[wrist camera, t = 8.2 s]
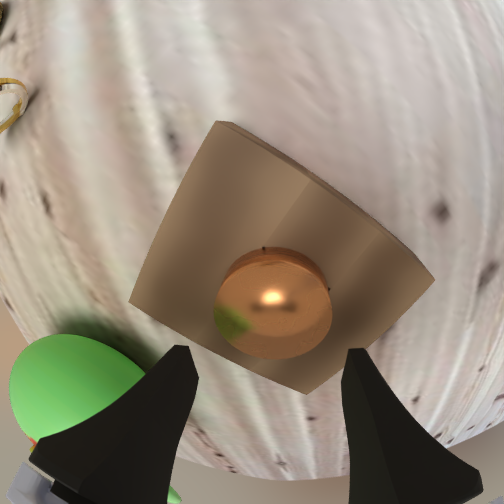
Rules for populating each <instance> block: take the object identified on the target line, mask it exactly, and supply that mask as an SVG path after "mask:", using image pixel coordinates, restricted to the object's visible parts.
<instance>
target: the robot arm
mask: <svg viewBox="0 0 504 504" xmlns="http://www.w3.org/2000/svg"><path fill="white" fill-rule="evenodd" d="M198 380H199V376H198V373H197V371H196V368H195V365H194V361H193V358H192V355H191V352H190V349H189V346H183V345H174V346H173V347H172V348H171V349H170V350H169V351H168V352H167V353H166V354H165V355H164V356H163V357H162V358H161V359H160V360H159V361H158V362H157V363H156V364H155V365H154V366H153V367H152V368H151V369H150V370H149V371H148V372H147V373H146V374H145V375H144V376H143V377H142V378H141V379H140V380H139V381H138V382H137V383H136V384H135V385H133V386H132V387H131V388H130V389H129V390H128V391H127V392H125V393H124V394H123V395H122V396H121V397H119V398H118V399H117V400H116V401H114V402H113V403H111V404H110V405H109V406H107V407H106V408H104V409H103V410H101V411H100V412H98V413H96V414H95V415H93V416H91V417H90V418H88V419H86V420H84V421H83V422H81V423H79V424H77V425H75V426H72V427H70V428H68V429H66V430H63V431H61V432H58V433H55V434H52V435H49V436H46V437H42V438H40V439H39V441H38V443H37V444H36V446H35V448H34V450H33V451H32V453H31V455H30V457H29V461H30V462H31V463H33V464H34V465H35V466H37V467H38V468H39V469H41V470H42V471H44V472H45V473H46V474H48V475H49V476H51V477H53V478H54V479H55V481H54V483H53V482H52V481H50V480H49V479H47V478H45V477H44V476H42V475H41V474H40V473H38V472H37V471H36V470H34V469H33V468H31V467H30V466H29V465H27V464H26V463H25V462H22V464H21V466H20V468H19V470H18V472H17V473H16V475H15V477H14V479H13V481H12V483H11V485H10V487H9V489H8V492H7V494H6V497H7V499H9V500H10V501H11V502H12V503H13V504H167V500H168V493H169V486H170V480H171V474H172V469H173V464H174V460H175V455H176V451H177V447H178V444H179V441H180V438H181V435H182V432H183V430H184V427H185V424H186V421H187V419H188V416H189V413H190V410H191V408H192V405H193V402H194V399H195V395H196V390H197V385H198ZM341 391H342V406H343V412H344V418H345V425H346V431H347V438H348V445H349V454H350V490H349V492H350V493H349V504H463V503H465V502H467V501H469V500H470V499H472V498H474V497H476V496H478V495H479V494H481V493H482V492H483V485H482V479H481V476H480V473H479V471H478V470H477V469H475V468H474V467H472V466H470V465H468V464H467V463H465V462H464V461H462V460H461V459H459V458H458V457H457V456H455V455H454V454H452V453H451V452H450V451H448V450H447V449H446V448H445V447H444V446H442V445H441V444H440V443H439V442H438V441H437V440H435V439H434V438H433V437H432V436H431V435H430V434H429V433H428V432H427V431H426V430H425V429H424V428H423V427H422V426H421V425H420V424H419V423H418V422H417V421H416V420H415V419H414V418H413V416H412V415H411V414H410V413H409V412H408V411H407V409H406V408H405V407H404V406H403V404H402V403H401V402H400V401H399V399H398V398H397V397H396V395H395V394H394V393H393V391H392V390H391V388H390V387H389V385H388V384H387V383H386V381H385V380H384V378H383V377H382V375H381V374H380V372H379V371H378V369H377V367H376V366H375V364H374V363H373V361H372V359H371V358H370V356H369V354H368V353H367V351H366V349H365V348H351V349H348V353H347V358H346V362H345V367H344V371H343V375H342V379H341ZM487 504H504V501H503V496H500V497H498V498H496V499H494V500H493V501H491V502H489V503H487Z"/></svg>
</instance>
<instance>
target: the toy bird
mask: <svg viewBox="0 0 504 504" xmlns="http://www.w3.org/2000/svg"><path fill="white" fill-rule="evenodd" d="M144 375H145V372H144V371H143V370H142V369H141V368H139V367H138V366H137V365H136V364H135V363H134V362H132V361H131V360H130V359H129V358H127V357H126V356H124V355H123V354H121V353H120V352H118V351H116V350H115V349H113V348H111V347H109V346H107V345H105V344H103V343H101V342H98V341H96V340H93V339H90V338H87V337H83V336H79V335H72V334H56V335H50V336H47V337H44V338H41V339H39V340H37V341H35V342H33V343H32V344H30V345H29V346H28V347H27V348H25V349H24V351H23V352H22V353H21V354H20V355H19V356H18V358H17V360H16V361H15V363H14V365H13V368H12V371H11V375H10V381H9V396H10V402H11V406H12V410H13V413H14V415H15V417H16V419H17V422H18V423H19V425H20V427H21V429H22V430H23V432H24V433H25V434H26V435H27V436H28V438H29V439H30V441H31V442H32V443H33V444H34V445H33V446H32V447H31V448H30V452H31V453H32V451H33V450H34V448H35V446H36V444H37V443H38V441H39V439H40V438H42V437H46V436H49V435H52V434H55V433H58V432H61V431H63V430H66V429H68V428H70V427H72V426H75V425H77V424H79V423H81V422H83V421H84V420H86V419H88V418H90V417H91V416H93V415H95V414H96V413H98V412H100V411H101V410H103V409H104V408H106V407H107V406H109V405H110V404H111V403H113V402H114V401H116V400H117V399H118V398H119V397H121V396H122V395H123V394H124V393H125V392H127V391H128V390H129V389H130V388H131V387H132V386H133V385H135V384H136V383H137V382H138V381H139V380H140V379H141V378H142V377H143V376H144ZM181 501H182V500H181V497H180V496H179V495H178V493H177V492H176V491H175V490H174V489H173V488H172V487H171V486H169V493H168V500H167V502H170V503H175V504H178V503H180V502H181Z"/></svg>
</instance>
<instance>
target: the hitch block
mask: <svg viewBox="0 0 504 504" xmlns="http://www.w3.org/2000/svg"><path fill="white" fill-rule="evenodd" d="M263 246H264V247H282V248H288V249H292V250H295V251H297V252H300V253H302V254H304V255H306V256H307V257H308V258H310V259H311V260H312V261H313V262H315V263H316V264H317V266H318V267H319V268H320V269H321V271H322V273H323V274H324V276H325V279H326V282H327V286H328V291H329V296H330V301H331V306H332V322H331V326H330V329H329V331H328V333H327V334H326V336H325V337H324V339H323V340H322V341H321V342H320V343H319V344H318V345H317V346H316V347H314V348H313V349H311V350H310V351H308V352H306V353H304V354H302V355H299V356H296V357H292V358H287V359H278V360H275V359H263V358H258V357H254V356H251V355H248V354H246V353H244V352H242V351H240V350H238V349H236V348H235V347H234V346H232V345H231V344H230V343H229V342H227V340H226V339H225V338H224V337H223V336H222V335H221V333H220V332H219V330H218V328H217V326H216V323H215V320H214V311H213V309H214V302H215V299H216V296H217V294H218V291H219V289H220V287H221V284H222V282H223V279H224V277H225V275H226V273H227V271H228V269H229V268H230V266H231V265H232V264H233V263H234V262H235V261H236V260H237V259H238V258H240V257H241V256H243V255H244V254H246V253H248V252H250V251H253V250H256V249H260V248H262V247H263ZM434 281H435V279H434V277H433V276H432V275H431V274H430V272H429V271H428V270H427V269H426V267H425V266H424V265H423V264H422V262H421V261H420V260H419V259H418V258H417V256H416V255H415V254H414V253H413V252H412V251H411V250H410V249H409V248H408V247H406V246H405V245H404V244H403V243H402V242H401V241H400V240H398V239H397V238H396V237H395V236H394V235H393V234H391V233H390V232H389V231H388V230H387V229H385V228H384V227H383V226H382V225H381V224H379V223H378V222H377V221H376V220H375V219H373V218H372V217H371V216H370V215H368V214H367V213H366V212H365V211H363V210H362V209H361V208H359V207H358V206H357V205H356V204H354V203H353V202H352V201H350V200H349V199H348V198H346V197H345V196H344V195H342V194H341V193H340V192H338V191H337V190H336V189H334V188H333V187H332V186H330V185H329V184H327V183H326V182H325V181H323V180H322V179H320V178H319V177H318V176H316V175H315V174H313V173H312V172H310V171H309V170H307V169H306V168H304V167H303V166H302V165H300V164H299V163H297V162H296V161H294V160H293V159H291V158H290V157H288V156H286V155H285V154H283V153H282V152H280V151H279V150H277V149H276V148H274V147H272V146H271V145H269V144H268V143H266V142H264V141H263V140H261V139H259V138H258V137H256V136H254V135H253V134H251V133H249V132H248V131H246V130H244V129H243V128H241V127H239V126H237V125H236V124H234V123H232V122H226V121H215V123H214V124H213V126H212V128H211V129H210V131H209V133H208V135H207V136H206V138H205V140H204V141H203V143H202V145H201V147H200V149H199V150H198V152H197V154H196V156H195V158H194V159H193V161H192V163H191V165H190V167H189V169H188V171H187V172H186V174H185V176H184V178H183V180H182V182H181V184H180V186H179V188H178V190H177V192H176V194H175V196H174V198H173V200H172V202H171V204H170V206H169V208H168V210H167V212H166V214H165V217H164V219H163V221H162V223H161V225H160V227H159V229H158V232H157V234H156V236H155V238H154V241H153V243H152V245H151V247H150V250H149V252H148V254H147V257H146V259H145V261H144V264H143V266H142V269H141V271H140V274H139V276H138V279H137V281H136V284H135V286H134V289H133V291H132V294H131V297H130V299H129V303H131V304H132V305H134V306H135V307H137V308H138V309H140V310H141V311H143V312H145V313H146V314H148V315H149V316H151V317H153V318H154V319H156V320H157V321H159V322H161V323H162V324H164V325H166V326H167V327H169V328H171V329H173V330H174V331H176V332H178V333H179V334H181V335H183V336H185V337H186V338H188V339H190V340H192V341H194V342H195V343H197V344H199V345H201V346H203V347H205V348H206V349H208V350H210V351H212V352H214V353H216V354H218V355H220V356H222V357H224V358H226V359H228V360H230V361H232V362H234V363H236V364H238V365H240V366H242V367H244V368H246V369H248V370H250V371H252V372H255V373H257V374H259V375H261V376H263V377H265V378H268V379H270V380H272V381H274V382H277V383H279V384H281V385H284V386H286V387H288V388H291V389H293V390H296V391H298V392H301V393H303V394H306V395H307V394H309V393H310V392H311V391H313V390H314V389H316V388H317V387H318V386H320V385H321V384H323V383H324V382H325V381H327V380H328V379H329V378H331V377H332V376H333V375H334V374H336V373H337V372H338V371H340V370H341V369H342V368H343V367H345V362H346V358H347V353H348V349H351V348H365V349H366V348H367V347H369V346H370V345H371V344H372V343H373V342H374V341H375V340H376V339H378V338H379V337H380V336H381V335H382V334H383V333H384V332H385V331H386V330H387V329H388V328H390V327H391V326H392V325H393V324H394V323H395V322H396V321H397V320H398V319H399V318H400V317H401V316H402V315H403V314H404V313H405V312H406V311H407V310H408V309H409V308H410V307H411V306H412V305H413V304H414V303H415V302H416V301H417V300H418V299H419V297H420V296H421V295H422V294H423V293H424V292H425V291H426V290H427V289H428V288H429V287H430V285H431V284H432V283H433V282H434Z"/></svg>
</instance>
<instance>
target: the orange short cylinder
mask: <svg viewBox="0 0 504 504" xmlns="http://www.w3.org/2000/svg"><path fill="white" fill-rule="evenodd" d="M213 311H214V320H215V323H216V326H217V328H218V330H219V332H220V333H221V335H222V336H223V337H224V338H225V339H226V340H227V342H229V343H230V344H231V345H232V346H234V347H235V348H236V349H238V350H240V351H242V352H244V353H246V354H248V355H251V356H254V357H258V358H263V359H275V360H278V359H287V358H292V357H296V356H299V355H302V354H304V353H306V352H308V351H310V350H311V349H313V348H314V347H316V346H317V345H318V344H319V343H320V342H321V341H322V340H323V339H324V337H325V336H326V334H327V333H328V331H329V329H330V326H331V322H332V306H331V301H330V296H329V291H328V286H327V282H326V279H325V276H324V274H323V273H322V271H321V269H320V268H319V267H318V266H317V264H316V263H315V262H313V261H312V260H311V259H310V258H308V257H307V256H306V255H304V254H302V253H300V252H297V251H295V250H292V249H288V248H282V247H265V248H260V249H256V250H253V251H250V252H248V253H246V254H244V255H243V256H241V257H240V258H238V259H237V260H236V261H235V262H234V263H233V264H232V265H231V266H230V268H229V269H228V271H227V273H226V275H225V277H224V279H223V282H222V284H221V287H220V289H219V291H218V294H217V296H216V299H215V302H214V309H213Z"/></svg>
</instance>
